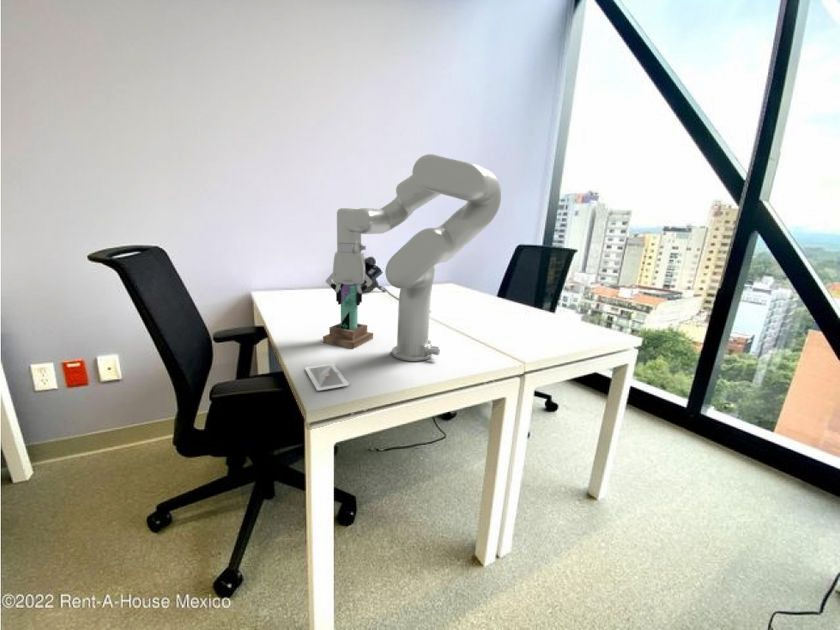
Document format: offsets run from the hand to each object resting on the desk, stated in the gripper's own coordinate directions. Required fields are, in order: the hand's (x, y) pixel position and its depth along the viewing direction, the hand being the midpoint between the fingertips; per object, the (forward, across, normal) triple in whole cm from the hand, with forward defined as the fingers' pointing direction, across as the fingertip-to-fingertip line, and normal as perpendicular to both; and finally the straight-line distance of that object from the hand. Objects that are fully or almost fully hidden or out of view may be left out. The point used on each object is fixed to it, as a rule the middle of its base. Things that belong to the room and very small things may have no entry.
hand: (349, 303), depth 123 cm
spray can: (+10, 0, 0) cm, 10 cm away
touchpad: (+14, +1, +31) cm, 34 cm away
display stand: (+13, 0, 0) cm, 13 cm away
